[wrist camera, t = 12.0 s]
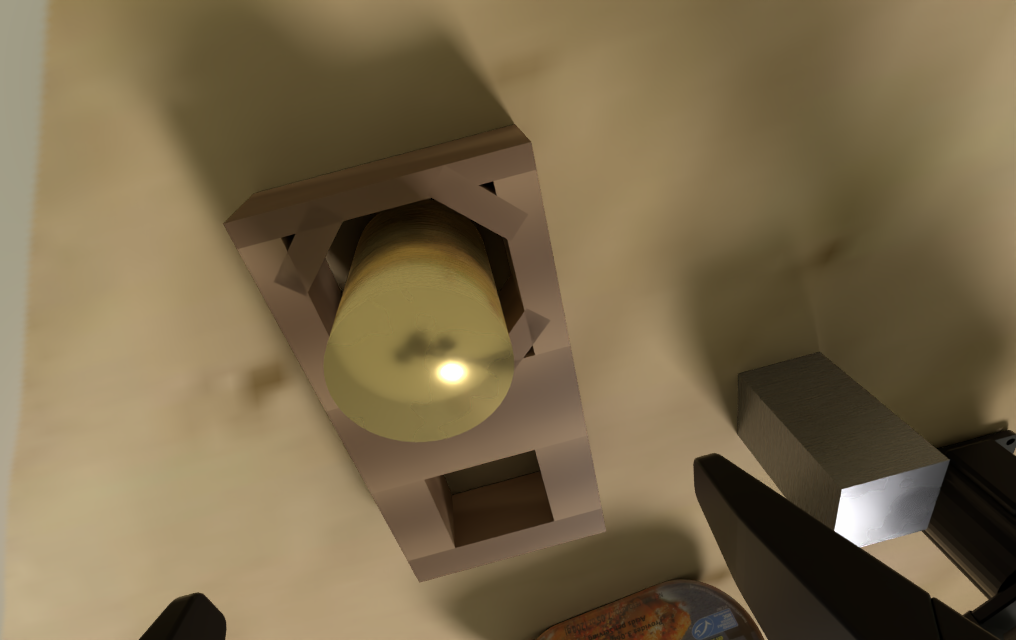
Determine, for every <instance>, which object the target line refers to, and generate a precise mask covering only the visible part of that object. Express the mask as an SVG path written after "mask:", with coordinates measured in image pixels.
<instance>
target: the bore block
mask: <svg viewBox="0 0 1016 640" xmlns="http://www.w3.org/2000/svg"><path fill="white" fill-rule="evenodd" d="M428 198H433V199H435V200H437V201H439V202H440V203H442V204H444V205H446V206H448V207H449V208H451V209H453V210H455V211H457V212H459V213H460V214H462V215H464V216H466V217H468V218H469V219H471V220H473V221H475V222H477V223H479V224H480V225H482V226H484V227H486V228H488V229H489V230H491V231H493V232H495V233H497V234H499V235H500V236H502V237H503V241H504V245H505V249H506V253H507V257H508V261H509V265H510V269H511V276H510V277H509V279H508V280H507V282H506V283H505V285H504V286H503V288H502V289H501V291H500V292H499V294H498V297H499V300H500V304H501V308H502V312H503V315H504V319H505V323H506V326H507V330H508V334H509V337H510V341H511V345H512V349H513V354H514V373H513V379H512V382H511V386H510V388H509V390H508V392H507V395H506V396H505V398H504V399H503V401H502V403H501V404H500V405H499V406H498V408H497V409H496V410H495V411H494V412H493V413H492V414H491V415H490V416H489V417H488V418H487V419H485V420H484V421H483V422H481V423H480V424H479V425H477V426H475V427H474V428H472V429H470V430H468V431H466V432H464V433H461V434H459V435H456V436H453V437H450V438H447V439H442V440H438V441H430V442H405V441H398V440H393V439H389V438H385V437H382V436H379V435H376V434H374V433H371V432H369V431H367V430H366V429H364V428H362V427H360V426H359V425H357V424H356V423H354V422H353V421H352V420H350V419H349V418H348V417H347V416H346V415H345V414H344V413H343V412H342V411H341V410H340V409H339V407H338V406H337V405H336V403H335V402H334V400H333V399H332V397H331V395H330V393H329V390H328V388H327V385H326V381H325V377H324V367H323V365H324V355H325V351H326V347H327V343H328V340H329V337H330V333H331V330H332V327H333V324H334V320H335V317H336V314H337V310H338V307H339V304H340V301H341V297H342V294H341V292H340V290H339V287H338V285H337V283H336V281H335V279H334V276H333V274H332V272H331V270H330V268H329V265H328V263H327V261H326V259H325V256H326V254H327V252H328V250H329V248H330V246H331V244H332V242H333V240H334V238H335V236H336V234H337V232H338V230H339V228H340V226H341V224H342V222H343V221H345V220H349V219H353V218H357V217H360V216H364V215H368V214H372V213H375V212H379V211H383V210H387V209H391V208H394V207H398V206H402V205H406V204H409V203H413V202H417V201H421V200H424V199H428ZM223 224H224V226H225V228H226V230H227V232H228V234H229V235H230V237H231V239H232V241H233V243H234V245H235V246H236V248H237V250H238V252H239V254H240V256H241V257H242V259H243V261H244V263H245V265H246V267H247V268H248V270H249V272H250V274H251V276H252V277H253V279H254V281H255V283H256V285H257V287H258V288H259V290H260V292H261V294H262V296H263V298H264V299H265V301H266V303H267V305H268V307H269V309H270V310H271V312H272V314H273V316H274V318H275V320H276V321H277V323H278V325H279V327H280V329H281V330H282V332H283V334H284V336H285V338H286V340H287V341H288V343H289V345H290V347H291V349H292V351H293V352H294V354H295V356H296V358H297V360H298V362H299V363H300V365H301V367H302V369H303V371H304V373H305V374H306V376H307V378H308V380H309V382H310V383H311V385H312V387H313V389H314V391H315V393H316V394H317V396H318V398H319V400H320V402H321V404H322V405H323V407H324V409H325V411H326V413H327V415H328V416H329V418H330V420H331V422H332V424H333V426H334V427H335V429H336V431H337V433H338V435H339V437H340V438H341V440H342V442H343V444H344V446H345V447H346V449H347V451H348V453H349V455H350V457H351V458H352V460H353V462H354V464H355V466H356V468H357V469H358V471H359V473H360V475H361V477H362V479H363V480H364V482H365V484H366V486H367V488H368V490H369V491H370V493H371V495H372V497H373V499H374V500H375V502H376V504H377V506H378V508H379V510H380V511H381V513H382V515H383V517H384V519H385V521H386V522H387V524H388V526H389V528H390V530H391V532H392V533H393V535H394V537H395V539H396V541H397V543H398V544H399V546H400V548H401V550H402V552H403V553H404V555H405V557H406V559H407V561H408V563H409V564H410V566H411V568H412V570H413V572H414V574H415V575H416V577H417V579H418V581H419V582H423V581H427V580H430V579H434V578H438V577H441V576H445V575H449V574H452V573H456V572H460V571H463V570H467V569H471V568H474V567H478V566H482V565H485V564H489V563H493V562H496V561H500V560H504V559H507V558H511V557H515V556H518V555H522V554H526V553H529V552H533V551H537V550H540V549H544V548H548V547H551V546H555V545H559V544H562V543H566V542H570V541H573V540H577V539H581V538H584V537H588V536H592V535H595V534H599V533H603V532H606V528H605V523H604V517H603V512H602V507H601V502H600V497H599V491H598V486H597V481H596V476H595V471H594V466H593V460H592V455H591V450H590V445H589V440H588V434H587V429H586V424H585V419H584V414H583V408H582V403H581V398H580V393H579V388H578V382H577V377H576V372H575V367H574V362H573V357H572V351H571V346H570V341H569V336H568V331H567V325H566V320H565V315H564V310H563V305H562V299H561V294H560V289H559V284H558V279H557V273H556V268H555V263H554V258H553V253H552V247H551V242H550V237H549V232H548V227H547V222H546V216H545V211H544V206H543V201H542V196H541V190H540V185H539V180H538V175H537V170H536V164H535V159H534V154H533V149H532V144H531V141H530V140H529V139H528V138H527V137H526V136H525V135H524V134H523V132H522V131H521V130H520V129H519V128H518V127H517V126H516V125H515V124H514V125H510V126H506V127H503V128H499V129H495V130H491V131H487V132H484V133H480V134H476V135H472V136H469V137H465V138H461V139H457V140H453V141H450V142H446V143H442V144H438V145H435V146H431V147H427V148H423V149H420V150H416V151H412V152H408V153H404V154H401V155H397V156H393V157H389V158H386V159H382V160H378V161H374V162H370V163H367V164H363V165H359V166H355V167H352V168H348V169H344V170H340V171H337V172H333V173H329V174H325V175H321V176H318V177H314V178H310V179H306V180H303V181H299V182H295V183H291V184H288V185H284V186H280V187H276V188H272V189H269V190H265V191H261V192H257V193H254V194H253V195H252V196H251V197H250V198H249V199H248V200H247V201H246V202H245V203H244V204H243V205H242V206H240V207H239V208H238V209H237V210H236V211H235V212H234V213H233V214H232V215H231V216H230V217H229V218H228V219H227V220H226V221H225V222H224V223H223ZM532 450H535V452H536V456H537V459H538V463H539V467H540V470H541V471H539V472H536V473H532V474H528V475H525V476H521V477H517V478H514V479H510V480H506V481H502V482H499V483H495V484H491V485H488V486H484V487H480V488H477V489H473V490H469V491H466V492H462V493H458V494H455V495H452V494H451V491H450V489H449V487H448V484H447V482H446V480H445V477H444V475H443V474H447V473H451V472H454V471H458V470H462V469H466V468H469V467H473V466H477V465H480V464H484V463H488V462H491V461H495V460H499V459H502V458H506V457H510V456H514V455H517V454H521V453H525V452H528V451H532Z"/></svg>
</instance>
